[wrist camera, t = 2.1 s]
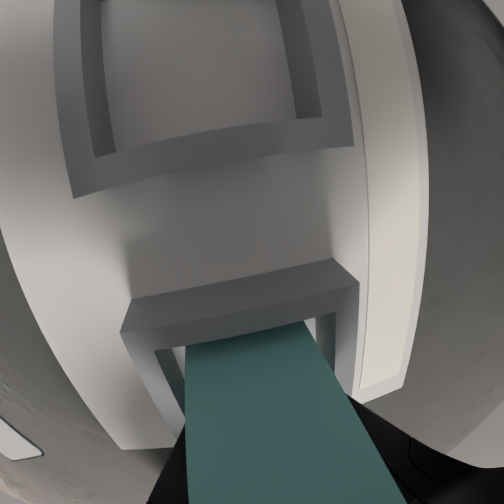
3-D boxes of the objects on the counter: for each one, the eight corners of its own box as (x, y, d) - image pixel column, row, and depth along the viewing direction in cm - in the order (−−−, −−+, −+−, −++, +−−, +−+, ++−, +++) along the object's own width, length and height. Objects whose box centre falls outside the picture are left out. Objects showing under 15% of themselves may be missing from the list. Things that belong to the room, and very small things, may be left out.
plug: (295, 305, 11) (423, 534, 3) (300, 380, 12) (379, 558, 4) (185, 328, 10) (200, 594, 2) (210, 400, 12) (241, 594, 4)
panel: (369, -45, 7) (405, -73, 4) (394, 376, 15) (419, 409, 12) (-3, 15, 5) (-40, -3, 2) (123, 436, 13) (118, 478, 11)
